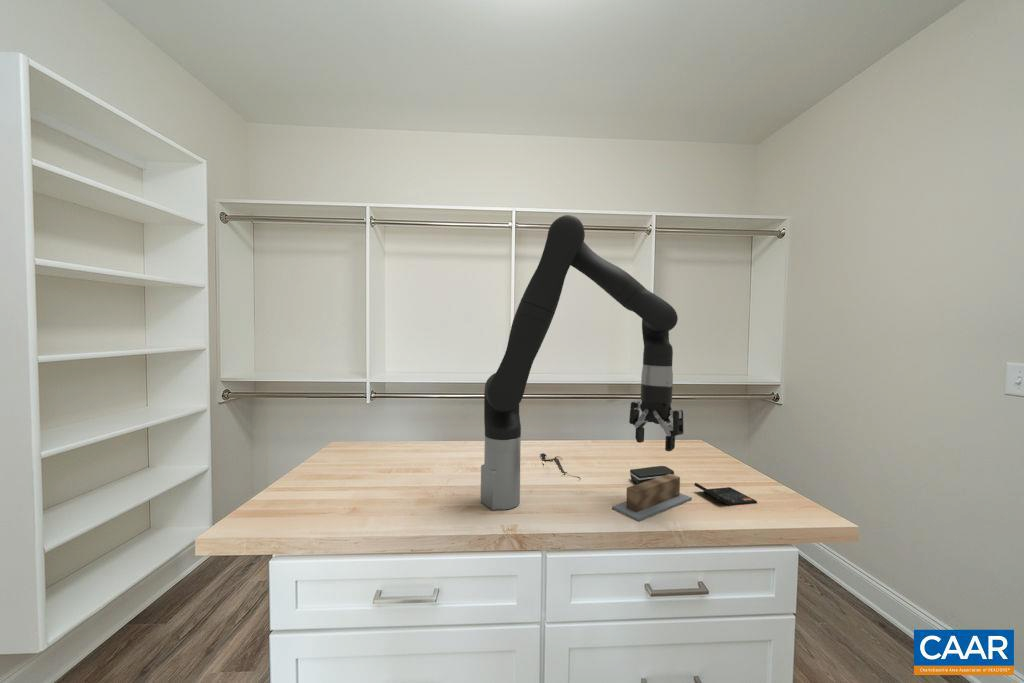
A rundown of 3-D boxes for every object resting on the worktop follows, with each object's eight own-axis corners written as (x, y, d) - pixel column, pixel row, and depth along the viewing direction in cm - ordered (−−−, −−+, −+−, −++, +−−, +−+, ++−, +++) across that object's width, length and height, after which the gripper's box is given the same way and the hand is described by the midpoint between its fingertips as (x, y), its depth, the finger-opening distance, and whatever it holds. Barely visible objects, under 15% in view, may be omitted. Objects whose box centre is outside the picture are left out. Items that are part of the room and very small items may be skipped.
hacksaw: (539, 456, 140) (539, 452, 140) (568, 456, 140) (568, 452, 140) (547, 482, 116) (547, 477, 116) (582, 482, 116) (582, 477, 116)
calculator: (756, 504, 103) (757, 492, 103) (718, 508, 100) (718, 496, 100) (729, 490, 112) (730, 479, 112) (693, 493, 109) (694, 482, 109)
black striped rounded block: (640, 490, 111) (678, 485, 113) (638, 476, 111) (676, 471, 113) (629, 481, 118) (665, 477, 120) (628, 469, 118) (664, 464, 120)
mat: (638, 521, 92) (638, 519, 92) (611, 508, 98) (611, 506, 98) (691, 499, 104) (691, 497, 104) (664, 489, 111) (665, 487, 111)
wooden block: (636, 512, 95) (636, 491, 95) (626, 507, 98) (626, 487, 97) (679, 495, 105) (680, 477, 105) (669, 491, 108) (669, 473, 108)
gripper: (624, 380, 104) (622, 441, 104) (673, 387, 92) (670, 456, 93) (642, 379, 108) (640, 437, 109) (691, 385, 97) (688, 451, 97)
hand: (654, 446), depth 101 cm, fingers open, 8 cm apart
